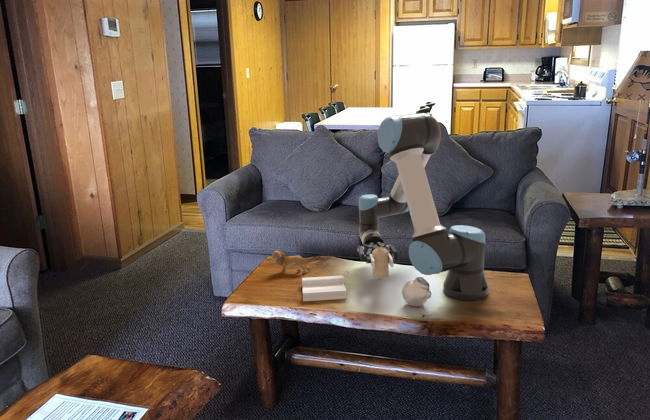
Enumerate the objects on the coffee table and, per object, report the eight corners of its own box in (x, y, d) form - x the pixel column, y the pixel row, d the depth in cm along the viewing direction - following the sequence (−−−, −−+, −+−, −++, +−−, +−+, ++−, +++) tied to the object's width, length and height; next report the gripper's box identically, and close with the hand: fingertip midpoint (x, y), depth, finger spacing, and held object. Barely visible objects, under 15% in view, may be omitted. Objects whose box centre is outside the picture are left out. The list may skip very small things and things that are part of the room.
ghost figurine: (423, 314, 172) (423, 285, 169) (397, 307, 177) (397, 279, 175) (435, 303, 179) (436, 275, 176) (410, 296, 184) (410, 269, 182)
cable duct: (343, 282, 198) (342, 275, 197) (346, 298, 185) (346, 290, 184) (302, 285, 197) (302, 277, 196) (303, 301, 184) (302, 293, 184)
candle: (388, 278, 183) (387, 250, 181) (371, 277, 185) (371, 250, 182) (389, 272, 189) (388, 245, 186) (373, 271, 190) (372, 245, 187)
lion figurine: (272, 275, 208) (270, 253, 206) (273, 269, 213) (272, 248, 211) (310, 273, 208) (309, 251, 205) (310, 268, 213) (309, 247, 210)
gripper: (397, 250, 204) (410, 272, 181) (348, 253, 203) (355, 276, 181) (397, 231, 202) (410, 251, 179) (348, 234, 201) (354, 255, 179)
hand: (382, 264), depth 180 cm, fingers closed on candle, 5 cm apart
